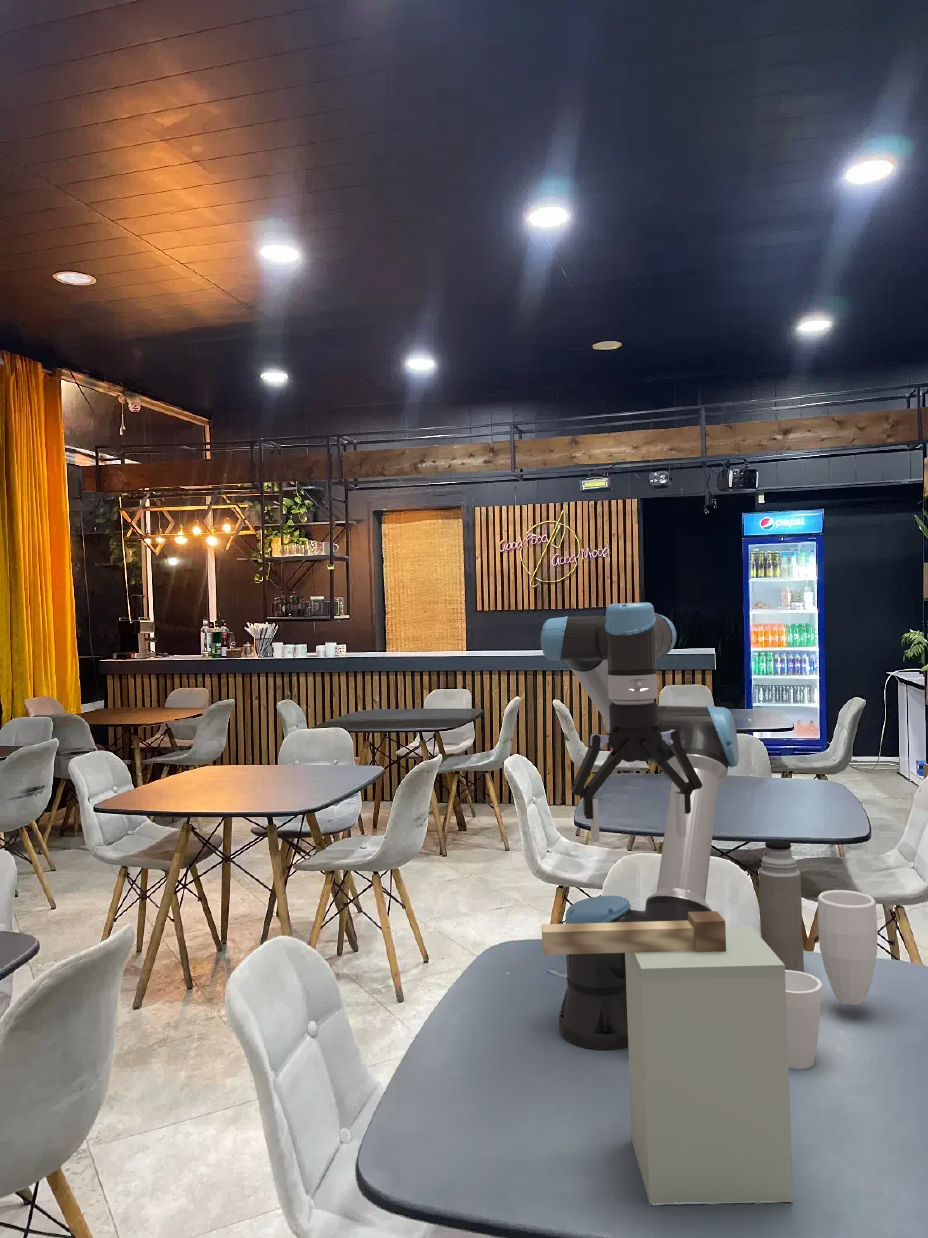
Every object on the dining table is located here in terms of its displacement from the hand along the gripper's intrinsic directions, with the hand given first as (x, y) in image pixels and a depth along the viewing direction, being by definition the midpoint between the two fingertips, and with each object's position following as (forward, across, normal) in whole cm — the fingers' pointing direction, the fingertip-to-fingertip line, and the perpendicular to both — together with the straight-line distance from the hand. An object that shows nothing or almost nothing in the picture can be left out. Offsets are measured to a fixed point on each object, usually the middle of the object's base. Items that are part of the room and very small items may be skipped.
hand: (638, 837), depth 139 cm
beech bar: (+10, -6, -19) cm, 23 cm away
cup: (+40, +43, +21) cm, 63 cm away
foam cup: (+40, +26, +7) cm, 49 cm away
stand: (+40, +3, -20) cm, 45 cm away
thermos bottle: (+40, +38, +37) cm, 67 cm away
